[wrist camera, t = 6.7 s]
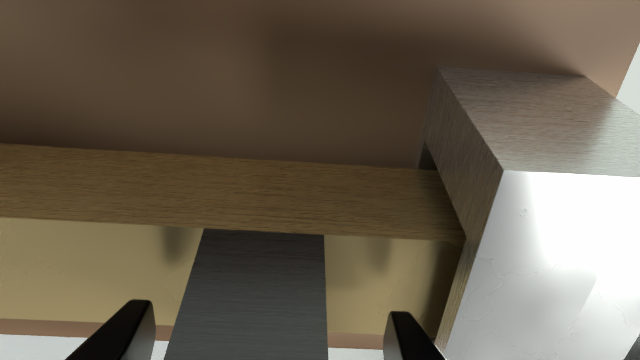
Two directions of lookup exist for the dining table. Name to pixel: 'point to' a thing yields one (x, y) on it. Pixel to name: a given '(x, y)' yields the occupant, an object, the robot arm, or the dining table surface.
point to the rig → (537, 214)
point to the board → (275, 78)
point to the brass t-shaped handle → (224, 247)
